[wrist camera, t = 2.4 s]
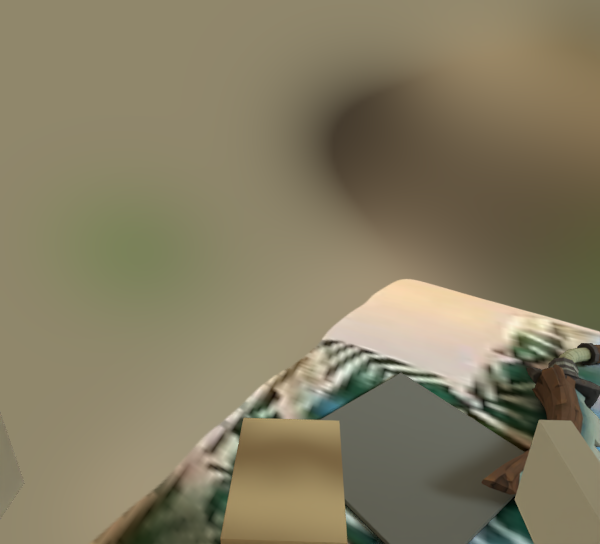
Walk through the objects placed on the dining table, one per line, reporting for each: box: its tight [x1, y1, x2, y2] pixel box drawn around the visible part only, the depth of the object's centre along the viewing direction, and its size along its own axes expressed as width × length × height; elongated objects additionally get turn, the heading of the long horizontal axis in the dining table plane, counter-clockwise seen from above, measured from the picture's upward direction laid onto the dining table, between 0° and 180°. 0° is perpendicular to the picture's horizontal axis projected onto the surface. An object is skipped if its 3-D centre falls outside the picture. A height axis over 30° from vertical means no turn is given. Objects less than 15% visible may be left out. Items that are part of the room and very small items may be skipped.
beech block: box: [220, 418, 347, 544], centre depth 28 cm, size 8×6×12 cm
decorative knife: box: [482, 343, 600, 495], centre depth 45 cm, size 4×9×30 cm
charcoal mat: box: [320, 373, 525, 544], centre depth 42 cm, size 16×16×1 cm
